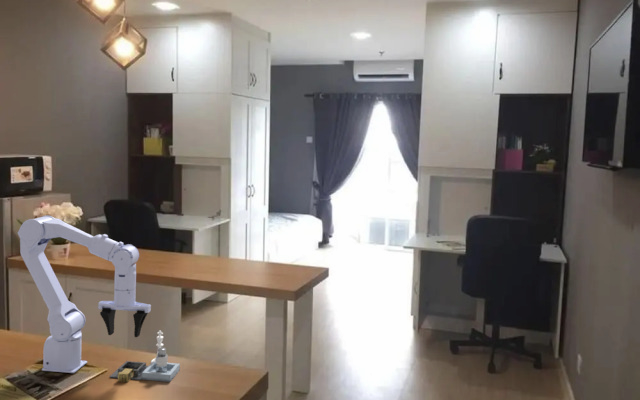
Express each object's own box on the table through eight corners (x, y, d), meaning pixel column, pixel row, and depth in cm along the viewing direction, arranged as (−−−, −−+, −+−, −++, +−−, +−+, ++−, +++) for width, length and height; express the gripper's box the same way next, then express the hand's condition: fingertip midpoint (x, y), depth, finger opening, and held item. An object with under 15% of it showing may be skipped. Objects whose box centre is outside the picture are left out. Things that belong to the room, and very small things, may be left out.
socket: (109, 377, 152) (109, 370, 151) (123, 365, 160) (123, 358, 160) (141, 380, 151) (141, 373, 151) (153, 367, 160) (153, 360, 160)
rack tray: (142, 379, 152) (142, 372, 151) (152, 368, 159) (152, 361, 159) (170, 381, 151) (170, 374, 151) (179, 370, 159) (179, 363, 159)
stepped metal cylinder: (153, 374, 154) (154, 350, 153) (157, 370, 157) (158, 346, 156) (164, 375, 153) (165, 351, 153) (168, 371, 157) (169, 347, 156)
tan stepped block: (117, 381, 150) (118, 373, 150) (124, 375, 154) (124, 367, 153) (127, 381, 150) (128, 374, 149) (133, 375, 154) (133, 368, 153)
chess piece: (162, 367, 161) (163, 334, 160) (147, 365, 161) (148, 332, 161) (170, 361, 165) (171, 329, 164) (155, 359, 166) (156, 327, 165)
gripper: (93, 290, 151) (92, 337, 152) (144, 293, 150) (143, 341, 152) (105, 283, 158) (104, 329, 159) (154, 287, 157) (152, 333, 159)
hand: (124, 335), depth 156 cm, fingers open, 7 cm apart
